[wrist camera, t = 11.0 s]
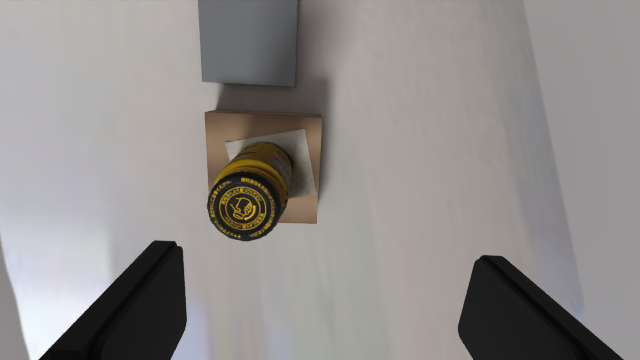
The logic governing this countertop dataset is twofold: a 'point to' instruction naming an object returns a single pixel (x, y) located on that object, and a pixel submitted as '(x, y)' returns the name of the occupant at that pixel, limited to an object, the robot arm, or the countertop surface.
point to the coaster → (248, 41)
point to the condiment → (260, 183)
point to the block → (256, 124)
